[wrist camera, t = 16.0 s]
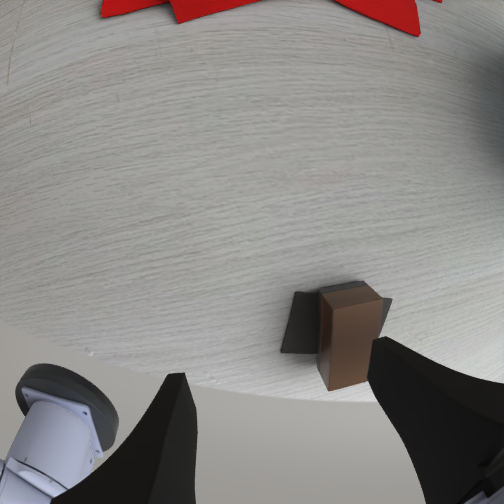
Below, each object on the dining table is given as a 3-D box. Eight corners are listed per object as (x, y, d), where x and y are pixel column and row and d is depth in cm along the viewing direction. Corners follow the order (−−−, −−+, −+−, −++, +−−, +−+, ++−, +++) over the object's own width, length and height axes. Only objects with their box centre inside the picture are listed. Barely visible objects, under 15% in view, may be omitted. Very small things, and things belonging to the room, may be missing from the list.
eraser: (356, 357, 22) (371, 380, 20) (316, 367, 22) (328, 392, 19) (363, 280, 20) (383, 298, 17) (317, 288, 20) (333, 309, 17)
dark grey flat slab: (371, 352, 23) (372, 352, 23) (280, 352, 21) (280, 353, 21) (391, 298, 21) (392, 299, 21) (295, 291, 20) (296, 292, 20)
